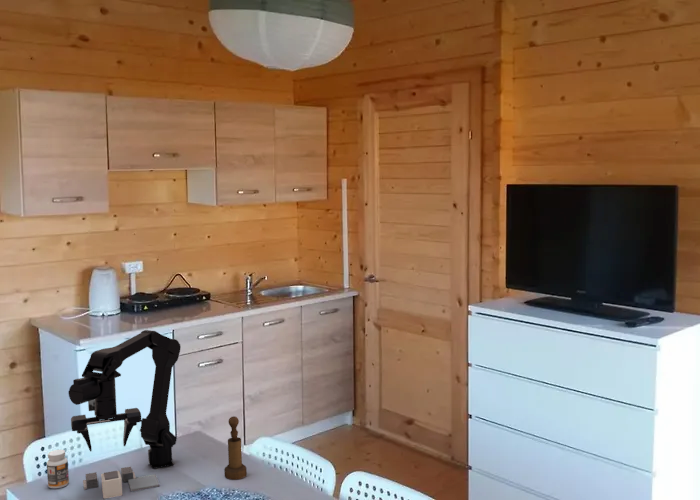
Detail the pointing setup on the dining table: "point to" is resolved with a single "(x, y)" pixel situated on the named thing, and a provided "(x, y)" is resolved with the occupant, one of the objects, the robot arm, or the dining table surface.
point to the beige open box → (111, 484)
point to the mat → (143, 482)
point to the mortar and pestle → (234, 454)
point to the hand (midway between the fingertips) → (107, 448)
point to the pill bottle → (57, 469)
